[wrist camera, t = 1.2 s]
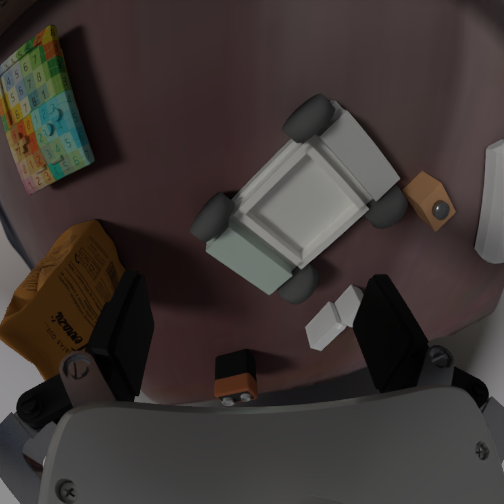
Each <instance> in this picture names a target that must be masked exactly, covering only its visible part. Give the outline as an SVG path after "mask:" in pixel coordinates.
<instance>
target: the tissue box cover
mask: <svg viewBox="0 0 504 504" xmlns="http://www.w3.org/2000/svg"><path fill="white" fill-rule="evenodd" d="M36 1H37V0H0V36H1V35H2V34H3V32H4V31H5V30H6V29H7V28H8V27H9V26H10V25H11V24H12V23H13V22H14V21H15V20H16V19H17V18H18V17H19V16H21V15H22V14H23V13H24V12H25V11H26V10H27V9H28V8H29V7H30V6H31V5H33V4H34V3H35V2H36Z"/></svg>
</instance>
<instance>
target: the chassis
mask: <svg viewBox="0 0 504 504" xmlns="http://www.w3.org/2000/svg"><path fill="white" fill-rule="evenodd" d="M282 130H283V131H284V132H285V133H286V134H287V135H288V136H289V137H290V138H291V139H290V140H289V141H288V142H287V143H286V144H285V145H284V146H283V147H282V148H281V149H280V150H279V151H278V152H277V153H276V154H275V155H274V156H273V157H272V158H271V159H270V160H269V161H268V162H267V163H266V164H265V165H264V166H263V167H262V168H261V169H260V170H259V171H258V172H257V173H256V174H255V175H254V176H253V178H252V179H251V180H250V181H249V182H248V183H247V184H246V185H245V186H244V187H243V188H242V189H241V190H240V191H239V192H238V193H237V194H236V195H235V196H234V197H233V198H232V200H230V199H229V198H228V197H227V196H225V195H224V194H223V193H222V192H218V193H217V194H215V195H214V196H213V197H212V198H211V199H210V200H209V201H208V202H207V203H206V204H205V205H204V207H203V208H202V209H201V211H200V212H199V213H198V215H197V216H196V218H195V220H194V221H193V223H192V225H191V228H190V233H191V234H193V235H194V236H195V237H197V238H198V239H200V240H201V241H202V242H204V243H207V246H206V252H207V253H209V254H210V255H212V256H213V257H215V258H216V259H217V260H219V261H220V262H222V263H223V264H225V265H226V266H228V267H229V268H230V269H232V270H233V271H235V272H236V273H238V274H239V275H241V276H242V277H243V278H245V279H246V280H248V281H249V282H251V283H252V284H254V285H255V286H257V287H258V288H260V289H261V290H263V291H264V292H265V293H267V294H268V295H270V294H271V293H272V292H274V291H275V290H276V289H277V291H278V294H279V295H280V296H281V297H282V298H284V299H285V300H287V301H288V302H289V303H291V304H300V303H302V302H304V301H305V300H307V299H308V298H309V297H310V296H311V295H312V293H313V292H314V290H315V289H316V287H317V284H318V280H319V274H318V271H317V270H316V269H315V268H314V267H312V266H311V265H310V264H309V262H311V261H312V260H313V259H314V258H315V257H316V256H318V255H319V254H320V253H321V252H322V251H323V250H324V249H326V248H327V247H328V246H329V245H330V244H331V243H332V242H334V241H335V240H336V239H337V238H338V237H339V236H340V235H341V234H343V233H344V232H345V231H346V230H347V229H348V228H349V227H350V226H351V225H353V224H354V223H355V222H356V221H357V220H358V219H359V218H360V217H361V216H362V215H364V216H365V217H366V218H367V219H368V220H369V222H370V223H371V224H372V225H373V226H374V227H376V228H380V229H383V228H387V227H390V226H392V225H394V224H395V223H397V222H398V221H399V220H400V219H401V218H402V217H403V215H404V214H405V212H406V210H407V206H408V202H407V199H406V197H405V196H404V194H403V193H402V191H401V190H400V188H399V187H398V186H397V185H395V183H396V182H397V181H398V180H400V177H399V176H398V175H397V173H396V172H395V170H394V169H393V168H392V166H391V165H390V163H389V162H388V161H387V159H386V158H385V157H384V155H383V154H382V153H381V151H380V150H379V149H378V147H377V146H376V145H375V143H374V142H373V141H372V140H371V138H370V137H369V136H368V135H367V133H366V132H365V131H364V130H363V128H362V127H361V126H360V125H359V124H358V122H357V121H356V120H355V119H354V118H353V117H352V115H351V114H350V113H349V112H348V111H347V110H344V109H343V108H342V107H341V106H340V105H339V104H338V103H337V102H336V101H334V100H331V101H330V102H329V101H328V100H327V99H326V98H325V97H324V96H323V95H322V94H317V95H315V96H313V97H312V98H310V99H308V100H307V101H306V102H304V103H303V104H302V105H301V106H300V107H299V108H297V109H296V110H295V111H294V112H293V113H292V115H291V116H290V117H289V118H288V119H287V121H286V122H285V124H284V125H283V128H282Z"/></svg>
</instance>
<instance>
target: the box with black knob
mask: <svg viewBox="0 0 504 504" xmlns="http://www.w3.org/2000/svg"><path fill="white" fill-rule="evenodd" d="M402 192H403V193H404V195H405V196H406V197H407V199H408V201H409V202H410V204H411V205H412V207H413V208H414V210H415V211H416V213H417V215H418V216H419V217H420V218H421V219H422V220H423V221H424V222H425V223H426V224H427V225H428V226H429V227H431V228H432V229H433V230H434V231H435V232H436V231H437V230H438V229H439V228H440V227H441V226H442V225H444V224H445V223H446V222H447V221H448V220H449V219H450V218H451V217H452V216H453V215H454V214H455V213H456V212H455V209H454V207H453V205H452V203H451V201H450V199H449V197H448V195H447V193H446V191H445V189H444V187H443V185H442V183H441V182H439V181H437V180H436V179H434V178H433V177H431V176H430V175H428V174H426V173H425V172H423V171H422V172H421V173H420V174H419V175H417V176H416V177H415V178H414V179H413V180H412V181H411V182H410V183H409V184H408V185H407V186H406V187H405V188H404V189H403V190H402Z"/></svg>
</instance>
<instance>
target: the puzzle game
mask: <svg viewBox="0 0 504 504" xmlns="http://www.w3.org/2000/svg"><path fill="white" fill-rule="evenodd" d="M0 114H1V118H2V122H3V126H4V129H5V133H6V136H7V139H8V142H9V146H10V149H11V152H12V155H13V157H14V160H15V163H16V166H17V169H18V171H19V174H20V176H21V179H22V181H23V184H24V186H25V189H26V191H27V193H28V194H29V195H32V194H34V193H35V192H37V191H39V190H41V189H43V188H44V187H46V186H48V185H50V184H52V183H54V182H56V181H58V180H59V179H61V178H63V177H65V176H67V175H69V174H71V173H73V172H75V171H77V170H80V169H82V168H84V167H86V166H88V165H90V164H92V163H93V162H95V159H94V154H93V152H92V149H91V146H90V143H89V141H88V138H87V135H86V132H85V129H84V126H83V123H82V120H81V117H80V114H79V111H78V108H77V104H76V101H75V98H74V94H73V91H72V87H71V84H70V80H69V76H68V73H67V69H66V65H65V61H64V56H63V52H62V49H61V48H60V43H59V39H58V34H57V29H56V26H55V25H49V26H48V27H46V28H45V29H44V30H42V31H41V32H40V33H38V34H37V35H36V36H34V37H33V38H32V39H30V40H29V41H28V42H27V43H25V44H24V45H23V46H22V47H20V48H19V49H18V50H17V51H16V52H15V53H13V54H12V55H11V56H10V57H9V58H8V59H7V60H5V61H4V62H3V63H2V64H1V65H0Z"/></svg>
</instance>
